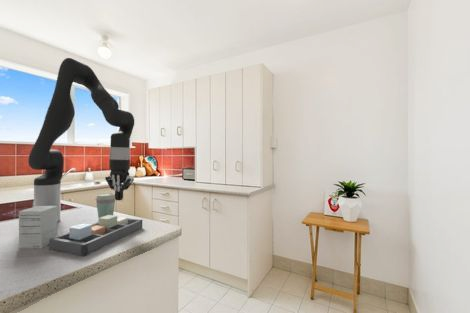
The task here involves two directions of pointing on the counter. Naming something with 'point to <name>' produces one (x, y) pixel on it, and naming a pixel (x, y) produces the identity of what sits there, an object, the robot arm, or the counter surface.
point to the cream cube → (122, 220)
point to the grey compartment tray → (93, 239)
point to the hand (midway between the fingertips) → (119, 200)
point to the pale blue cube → (80, 231)
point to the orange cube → (98, 230)
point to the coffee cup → (105, 204)
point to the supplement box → (37, 226)
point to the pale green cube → (108, 221)
